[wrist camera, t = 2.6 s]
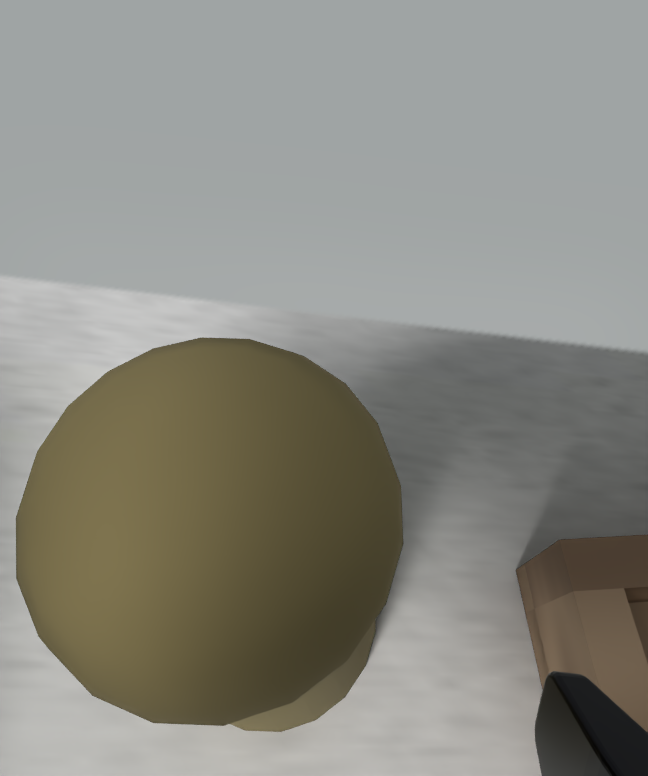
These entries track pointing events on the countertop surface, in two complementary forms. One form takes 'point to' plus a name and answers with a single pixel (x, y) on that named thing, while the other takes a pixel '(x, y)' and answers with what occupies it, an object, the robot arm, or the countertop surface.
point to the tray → (592, 615)
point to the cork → (212, 536)
